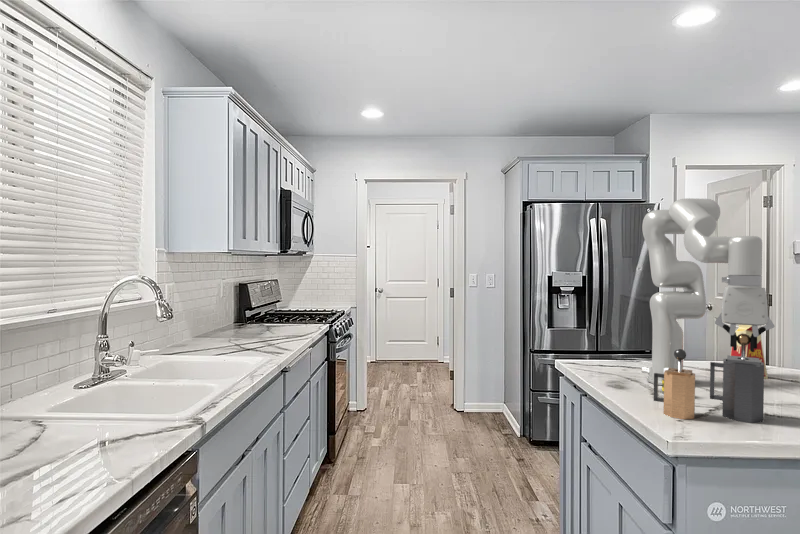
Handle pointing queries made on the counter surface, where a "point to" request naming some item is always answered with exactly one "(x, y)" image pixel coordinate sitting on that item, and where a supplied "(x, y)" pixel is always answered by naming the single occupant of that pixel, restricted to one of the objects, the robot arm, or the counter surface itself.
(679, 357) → the grey ball handle
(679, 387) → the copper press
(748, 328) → the milk carton
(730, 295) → the robot arm
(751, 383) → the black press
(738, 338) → the plunger rod
